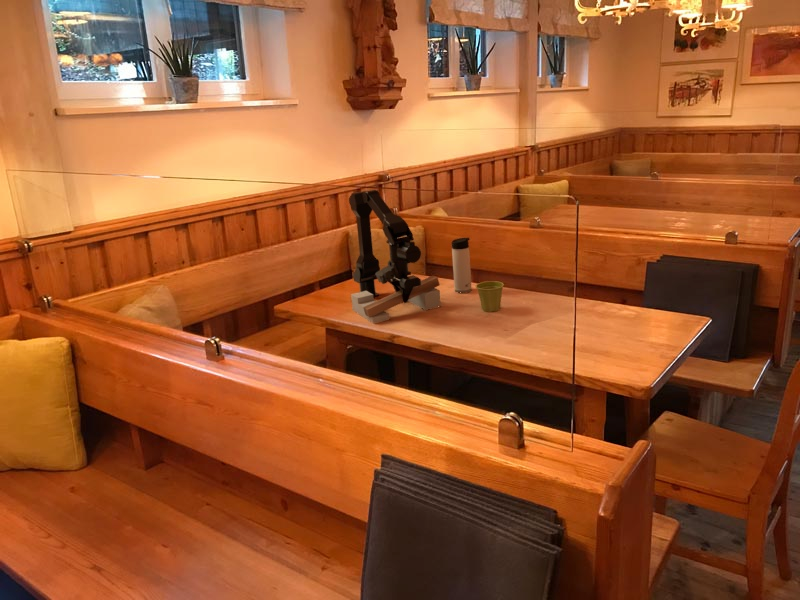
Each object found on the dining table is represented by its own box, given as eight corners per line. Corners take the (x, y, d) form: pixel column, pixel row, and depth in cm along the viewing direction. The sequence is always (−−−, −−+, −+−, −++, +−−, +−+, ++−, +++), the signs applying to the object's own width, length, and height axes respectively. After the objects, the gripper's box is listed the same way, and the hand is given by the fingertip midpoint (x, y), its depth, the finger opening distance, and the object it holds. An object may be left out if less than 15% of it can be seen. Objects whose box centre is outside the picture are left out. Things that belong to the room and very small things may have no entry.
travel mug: (471, 293, 248) (468, 240, 242) (453, 293, 249) (450, 240, 243) (473, 288, 254) (470, 236, 248) (455, 288, 255) (452, 236, 249)
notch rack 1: (352, 310, 242) (350, 294, 240) (368, 306, 244) (366, 290, 242) (373, 323, 226) (371, 306, 224) (389, 319, 229) (387, 302, 227)
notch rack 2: (402, 298, 250) (401, 282, 248) (416, 294, 252) (415, 279, 250) (425, 310, 234) (424, 293, 232) (440, 306, 237) (439, 290, 235)
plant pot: (471, 311, 229) (469, 286, 226) (487, 303, 236) (486, 279, 233) (494, 315, 223) (493, 290, 220) (510, 307, 229) (509, 283, 227)
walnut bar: (365, 315, 230) (363, 307, 228) (434, 283, 239) (432, 275, 238) (369, 317, 227) (367, 309, 225) (439, 285, 236) (437, 277, 235)
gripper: (365, 257, 233) (370, 300, 238) (389, 267, 217) (393, 313, 222) (394, 251, 237) (398, 293, 242) (419, 260, 221) (423, 306, 226)
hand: (402, 301), depth 233 cm, fingers closed on walnut bar, 3 cm apart
